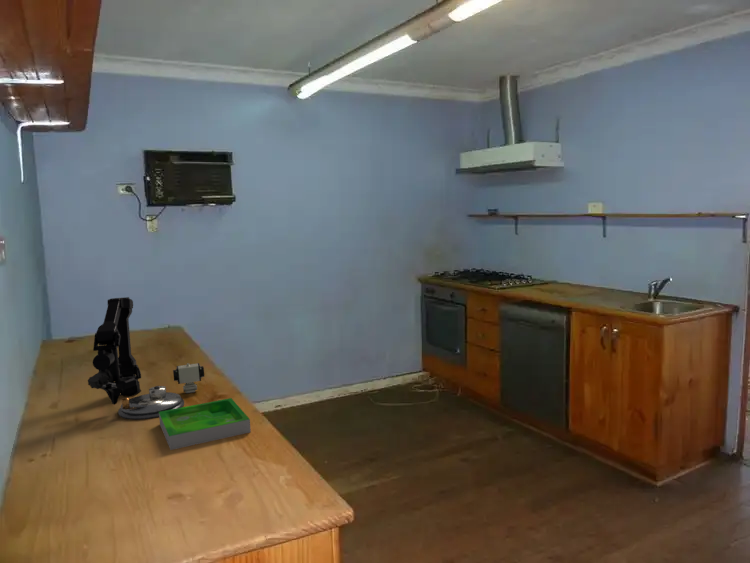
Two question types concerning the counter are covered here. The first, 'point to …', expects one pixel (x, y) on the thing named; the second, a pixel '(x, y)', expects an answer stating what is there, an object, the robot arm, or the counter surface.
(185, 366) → the pneumatic valve
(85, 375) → the counter surface
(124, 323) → the robot arm
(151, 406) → the turntable
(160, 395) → the cover
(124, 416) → the turntable base
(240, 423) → the tray
